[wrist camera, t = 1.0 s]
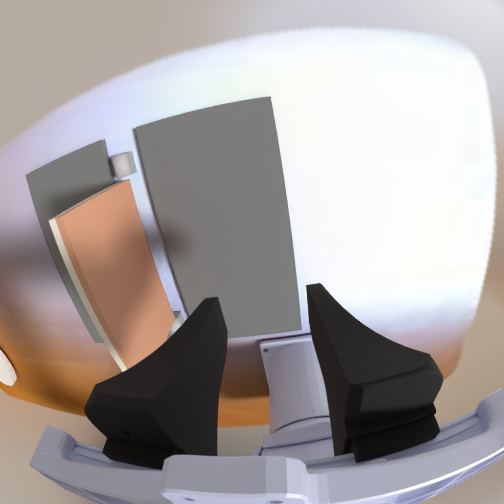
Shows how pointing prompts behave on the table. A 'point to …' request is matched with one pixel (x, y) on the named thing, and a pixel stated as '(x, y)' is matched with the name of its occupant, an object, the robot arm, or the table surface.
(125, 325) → the flap
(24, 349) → the table surface
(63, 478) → the robot arm
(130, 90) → the table surface
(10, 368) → the plastic lid
